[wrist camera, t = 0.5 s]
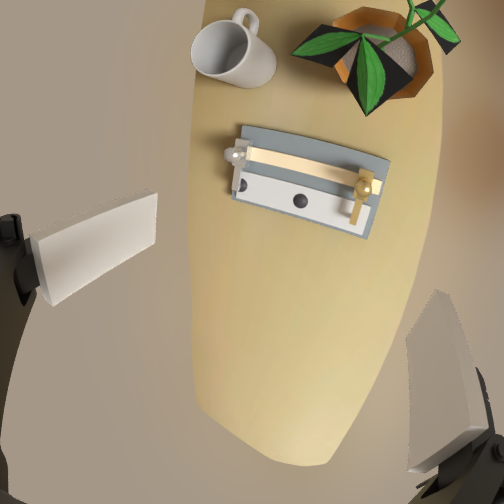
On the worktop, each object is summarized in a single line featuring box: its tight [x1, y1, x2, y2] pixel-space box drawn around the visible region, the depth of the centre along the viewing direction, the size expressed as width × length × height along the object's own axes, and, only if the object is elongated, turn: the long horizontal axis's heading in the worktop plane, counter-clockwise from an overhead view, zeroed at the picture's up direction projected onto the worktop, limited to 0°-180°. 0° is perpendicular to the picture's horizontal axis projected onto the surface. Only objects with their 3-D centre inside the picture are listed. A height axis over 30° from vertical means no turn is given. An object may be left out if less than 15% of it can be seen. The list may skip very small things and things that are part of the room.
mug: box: [190, 8, 277, 89], centre depth 31 cm, size 12×8×11 cm
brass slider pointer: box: [349, 167, 375, 226], centre depth 33 cm, size 8×2×5 cm, turn 170°
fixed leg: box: [223, 138, 253, 191], centre depth 38 cm, size 8×2×5 cm, turn 169°
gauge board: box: [231, 125, 390, 239], centre depth 39 cm, size 12×22×3 cm, turn 80°
